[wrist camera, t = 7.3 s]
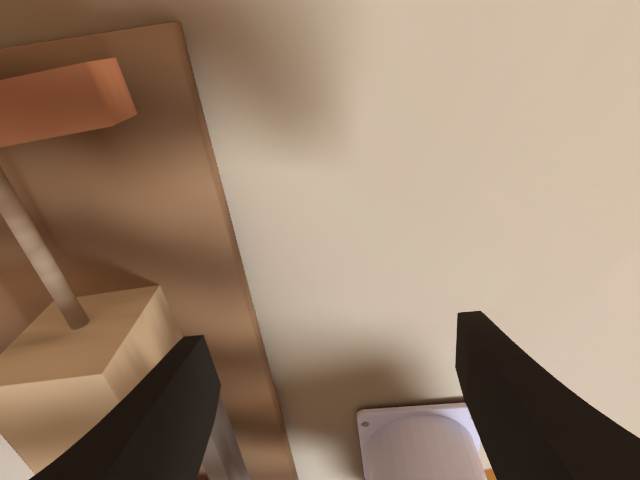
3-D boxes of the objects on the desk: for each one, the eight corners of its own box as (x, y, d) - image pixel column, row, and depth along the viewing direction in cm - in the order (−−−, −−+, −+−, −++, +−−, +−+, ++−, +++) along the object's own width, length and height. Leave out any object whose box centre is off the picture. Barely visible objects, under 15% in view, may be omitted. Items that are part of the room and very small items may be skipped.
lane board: (301, 490, 31) (297, 542, 28) (104, 500, 32) (80, 551, 29) (180, 22, 16) (143, 21, 13) (-179, 76, 17) (-290, 88, 14)
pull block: (246, 362, 23) (221, 461, 18) (57, 385, 25) (-18, 484, 19) (134, 54, 16) (33, 69, 10) (-133, 110, 17) (-344, 150, 12)
